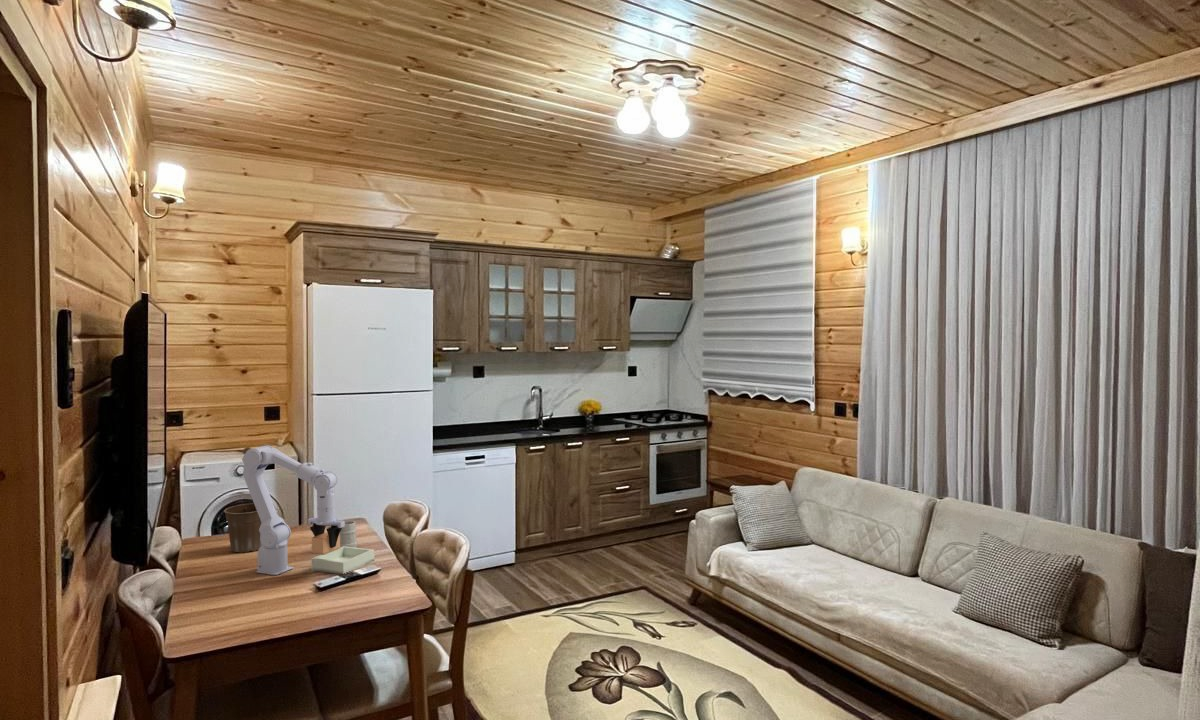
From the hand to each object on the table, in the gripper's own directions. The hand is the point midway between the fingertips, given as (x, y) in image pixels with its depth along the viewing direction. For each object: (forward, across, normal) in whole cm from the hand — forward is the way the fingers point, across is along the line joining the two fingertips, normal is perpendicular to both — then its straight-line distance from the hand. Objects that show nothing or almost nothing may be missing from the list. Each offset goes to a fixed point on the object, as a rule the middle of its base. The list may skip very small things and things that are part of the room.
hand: (326, 546), depth 236 cm
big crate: (+9, 0, +8) cm, 12 cm away
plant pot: (+9, -50, +11) cm, 52 cm away
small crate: (+2, 0, 0) cm, 2 cm away
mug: (+9, -15, +23) cm, 29 cm away
